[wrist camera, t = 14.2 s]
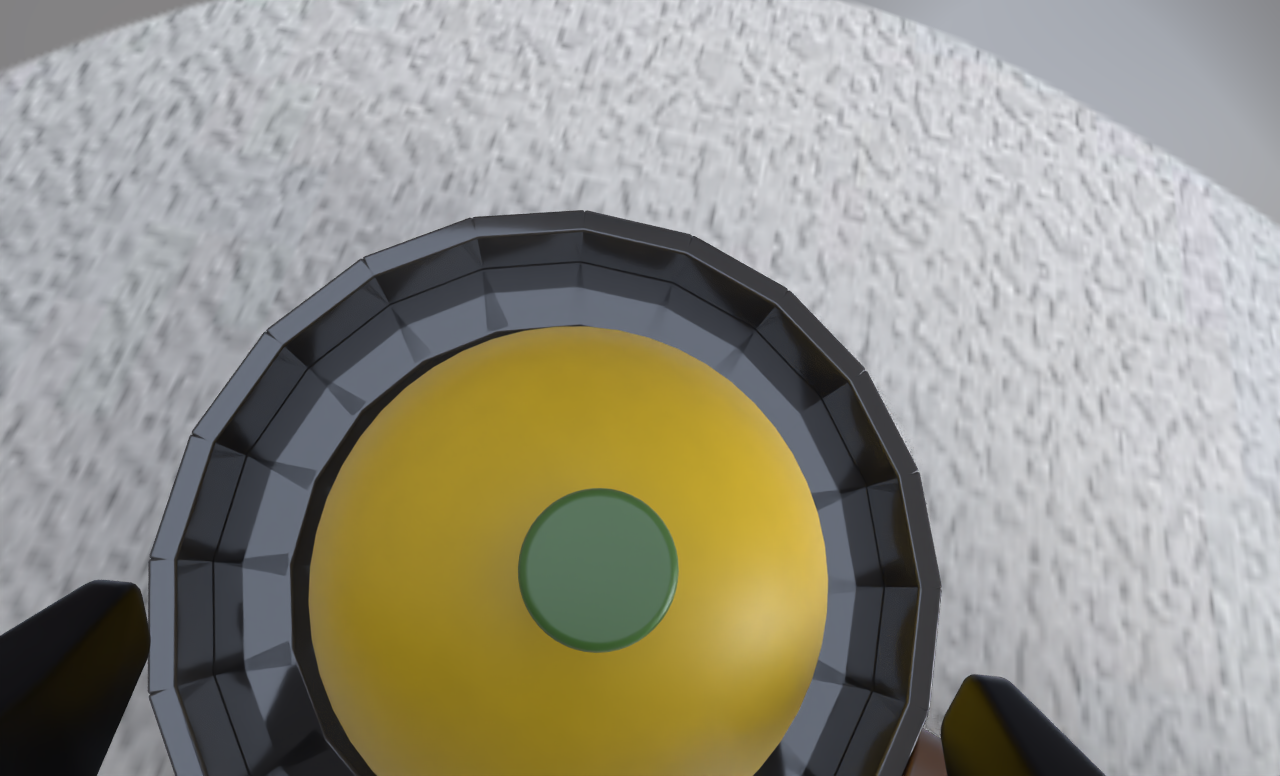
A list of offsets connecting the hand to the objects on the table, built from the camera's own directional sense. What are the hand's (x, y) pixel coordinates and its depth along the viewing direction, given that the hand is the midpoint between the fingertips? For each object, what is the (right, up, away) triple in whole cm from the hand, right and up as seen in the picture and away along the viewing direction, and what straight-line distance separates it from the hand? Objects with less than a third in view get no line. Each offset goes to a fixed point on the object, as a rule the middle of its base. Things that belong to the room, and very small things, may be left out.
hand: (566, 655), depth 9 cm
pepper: (-1, -1, +10) cm, 10 cm away
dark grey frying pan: (-1, -2, +11) cm, 11 cm away
